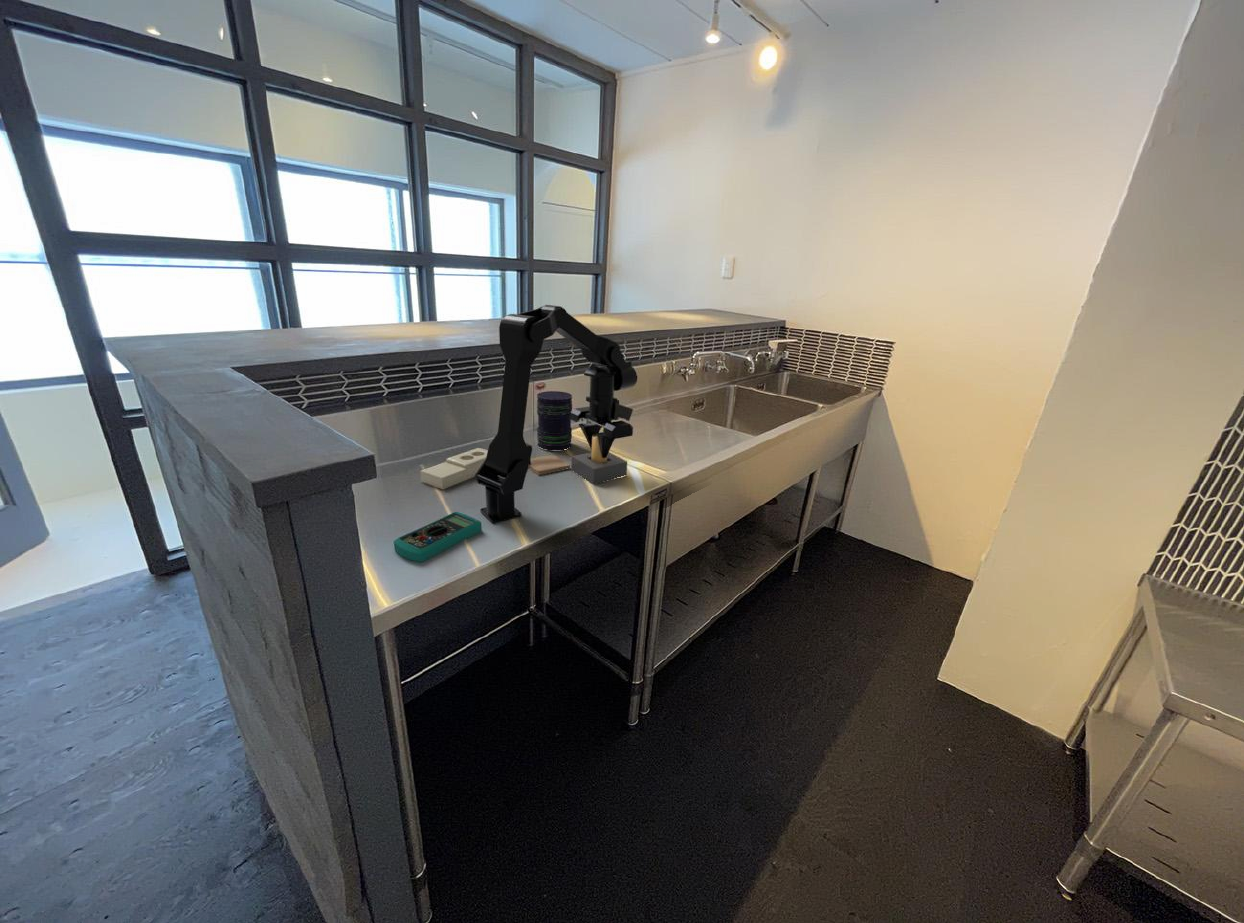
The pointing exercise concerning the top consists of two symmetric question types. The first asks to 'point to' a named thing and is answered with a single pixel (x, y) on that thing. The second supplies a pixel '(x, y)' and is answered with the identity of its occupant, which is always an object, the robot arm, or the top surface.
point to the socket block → (598, 468)
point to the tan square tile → (547, 464)
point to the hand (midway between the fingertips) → (599, 455)
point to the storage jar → (554, 420)
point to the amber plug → (596, 451)
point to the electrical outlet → (454, 469)
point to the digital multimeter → (436, 536)
